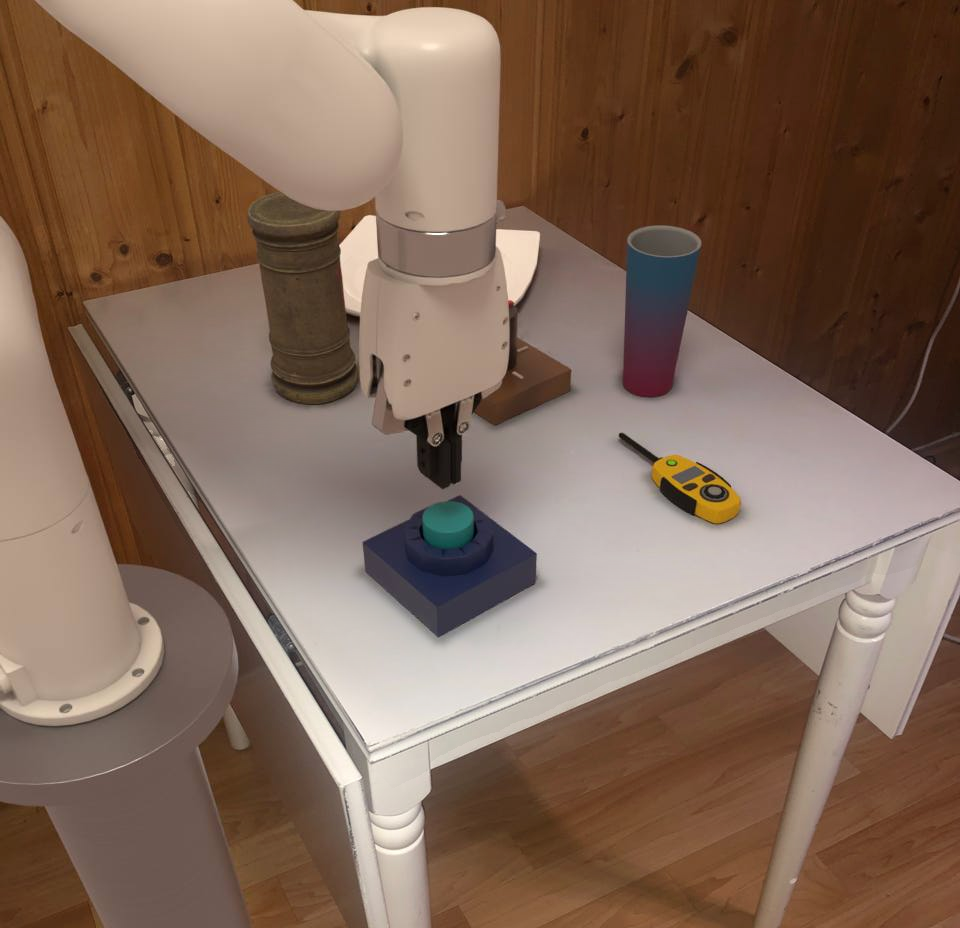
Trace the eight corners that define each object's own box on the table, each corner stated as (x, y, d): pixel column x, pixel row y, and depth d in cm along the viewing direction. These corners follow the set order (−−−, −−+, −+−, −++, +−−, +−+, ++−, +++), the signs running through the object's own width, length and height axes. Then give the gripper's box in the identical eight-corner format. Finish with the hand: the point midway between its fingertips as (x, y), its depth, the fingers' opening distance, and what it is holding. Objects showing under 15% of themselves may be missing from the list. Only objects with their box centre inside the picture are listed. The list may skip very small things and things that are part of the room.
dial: (491, 377, 104) (491, 323, 100) (464, 359, 106) (463, 306, 102) (525, 362, 106) (527, 309, 102) (497, 345, 108) (498, 292, 104)
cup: (667, 363, 110) (686, 222, 100) (690, 397, 106) (712, 252, 95) (605, 371, 109) (617, 229, 99) (625, 405, 105) (640, 260, 94)
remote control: (712, 513, 89) (600, 431, 98) (709, 531, 91) (598, 448, 99) (753, 493, 91) (639, 415, 100) (749, 511, 92) (637, 432, 101)
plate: (293, 322, 117) (290, 299, 115) (362, 231, 134) (360, 210, 132) (507, 347, 113) (508, 324, 111) (550, 249, 130) (551, 228, 128)
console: (494, 425, 102) (494, 402, 100) (420, 376, 109) (419, 352, 107) (570, 391, 107) (571, 367, 105) (495, 345, 113) (495, 322, 111)
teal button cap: (443, 556, 81) (443, 539, 80) (413, 531, 83) (412, 514, 82) (484, 536, 83) (483, 518, 82) (452, 512, 85) (452, 494, 84)
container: (323, 414, 104) (301, 235, 91) (253, 389, 107) (222, 213, 95) (377, 373, 109) (362, 199, 97) (308, 351, 113) (286, 180, 100)
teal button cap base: (438, 637, 81) (436, 589, 78) (365, 571, 87) (360, 524, 83) (535, 583, 86) (537, 535, 82) (460, 524, 91) (459, 477, 88)
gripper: (490, 191, 72) (485, 422, 85) (303, 247, 65) (328, 490, 78) (564, 228, 68) (547, 465, 80) (372, 292, 61) (387, 540, 74)
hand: (439, 476), depth 79 cm, fingers closed
